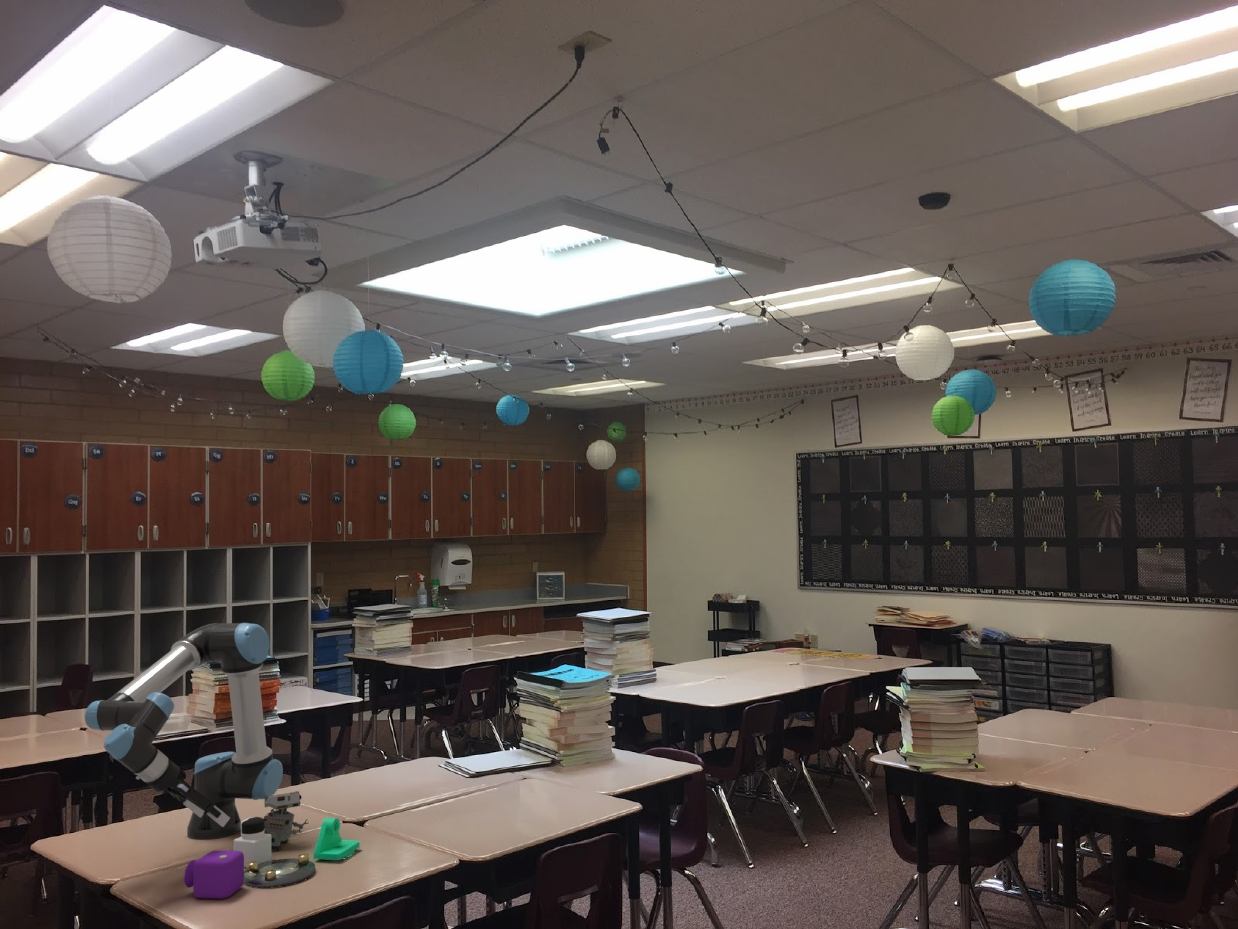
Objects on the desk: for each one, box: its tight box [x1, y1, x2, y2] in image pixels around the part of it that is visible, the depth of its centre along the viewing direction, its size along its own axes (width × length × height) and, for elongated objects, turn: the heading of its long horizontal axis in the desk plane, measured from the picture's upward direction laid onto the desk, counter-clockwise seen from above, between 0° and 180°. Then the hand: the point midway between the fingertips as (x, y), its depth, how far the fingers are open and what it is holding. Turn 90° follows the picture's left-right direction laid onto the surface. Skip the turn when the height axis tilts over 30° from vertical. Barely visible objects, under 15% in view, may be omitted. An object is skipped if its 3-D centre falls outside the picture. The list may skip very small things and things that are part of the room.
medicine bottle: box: [232, 816, 272, 869], centre depth 262 cm, size 7×7×12 cm
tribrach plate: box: [243, 853, 316, 889], centre depth 251 cm, size 18×18×4 cm
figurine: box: [263, 790, 309, 852], centre depth 276 cm, size 9×12×15 cm
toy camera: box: [183, 850, 245, 900], centre depth 240 cm, size 11×14×10 cm
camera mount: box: [313, 817, 360, 861], centre depth 267 cm, size 12×8×10 cm, turn 166°
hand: (214, 817), depth 255 cm, fingers open, 13 cm apart
